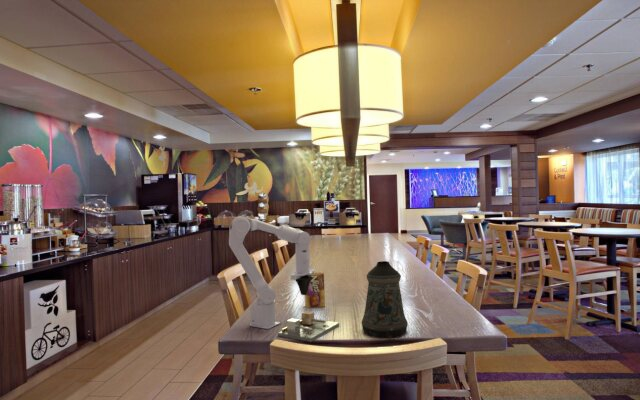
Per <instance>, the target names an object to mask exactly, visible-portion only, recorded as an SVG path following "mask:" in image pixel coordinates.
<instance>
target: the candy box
mask: <svg viewBox="0 0 640 400" xmlns="http://www.w3.org/2000/svg"><path fill="white" fill-rule="evenodd" d="M309 276H312V279H311V281H310V284H309V287H308V292H307V295H304V301H305V302H304V306H305V307H306V309H311V308H321V307H326V294H325V293H326V292H325V291H326V290H325V273H324V271H315V274H310V275H309Z"/></svg>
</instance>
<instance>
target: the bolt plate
mask: <svg viewBox="0 0 640 400" xmlns="http://www.w3.org/2000/svg"><path fill="white" fill-rule="evenodd" d="M316 319H317V320H320V319H318V318H316ZM299 320H300V326H303V327H309V328H312V330H306V329H300V331H298V332H296V333H292V332H287V326H286V327H283V328H281V331H279V332H277V336H278V337H283V338H287V339H291V340H292V339H293V340H296V341H297V340H298V341H302V342H308V343H312V342H314V341H315V340H317V339H319V338H320V337H322V336H324V335H326V334H328V333H330V332H331V331H333V330H334V329H336V328H338V327H340V322H337V321H331V320H324V319H323V320H324V321H326V322H325V323H322V322H316V321H314V323H312V324H310V325H308V324H302V319H299Z"/></svg>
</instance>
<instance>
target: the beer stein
mask: <svg viewBox="0 0 640 400" xmlns="http://www.w3.org/2000/svg"><path fill="white" fill-rule="evenodd" d="M401 278H402V275H401V274H400V272H399V271H397V270H396V269H395V268H394V267H393V266H392V265H391V263H390V261H386V260H382V261H377V262H376V265H375V266H373V267H372V269H371V270H369V271H368V273H367V274H366V280H367V285H368V286H367V294H366V299H365V301H366V302H365V307H364V313H363V317H362V319H361V327H362V328H361V329H362V332H363V333H364V335H366V336H368V337H371V338H376V339H385V340H387V339H389V340H390V339H396V338H400V337H403V336H405V335H406V334H407V329H408V324H409V323H408V320H407V318H406V315H405V310H404V305H403V300H402V299H403V298H402V291H401V287H400V281H401Z"/></svg>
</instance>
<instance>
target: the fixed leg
mask: <svg viewBox="0 0 640 400" xmlns="http://www.w3.org/2000/svg"><path fill="white" fill-rule="evenodd" d="M300 320H301V319H297V318H292V317H291V318H289V319H288V320H286V327H287V332H292V333H296V332H298V331H300V329H306V330H312V328H309V327H303V326H300Z"/></svg>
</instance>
